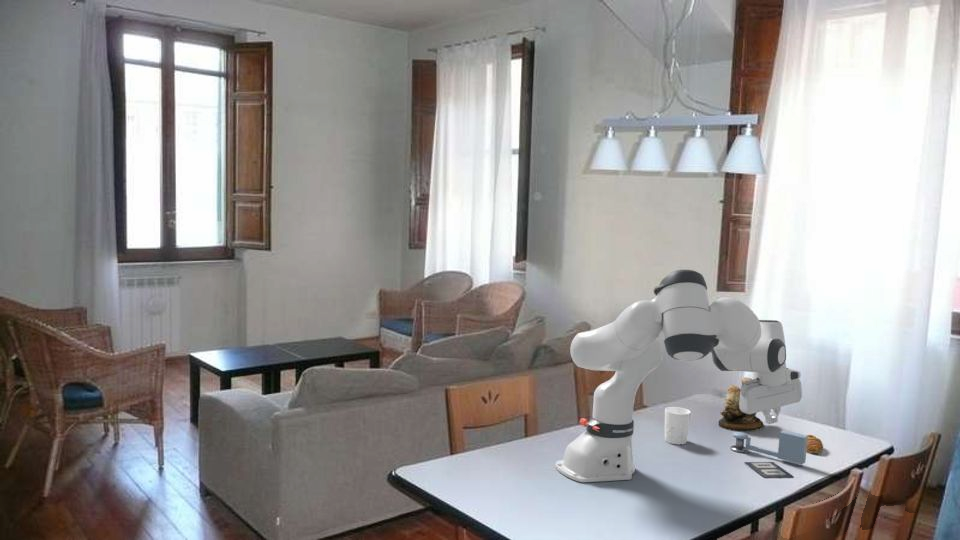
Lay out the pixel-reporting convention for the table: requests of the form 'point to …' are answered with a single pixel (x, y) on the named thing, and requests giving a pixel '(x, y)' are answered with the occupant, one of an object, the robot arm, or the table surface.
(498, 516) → the table surface
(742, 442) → the pivot post
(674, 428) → the white cup
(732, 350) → the robot arm
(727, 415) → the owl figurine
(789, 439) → the swing arm
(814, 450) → the pastry
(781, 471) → the label panel
